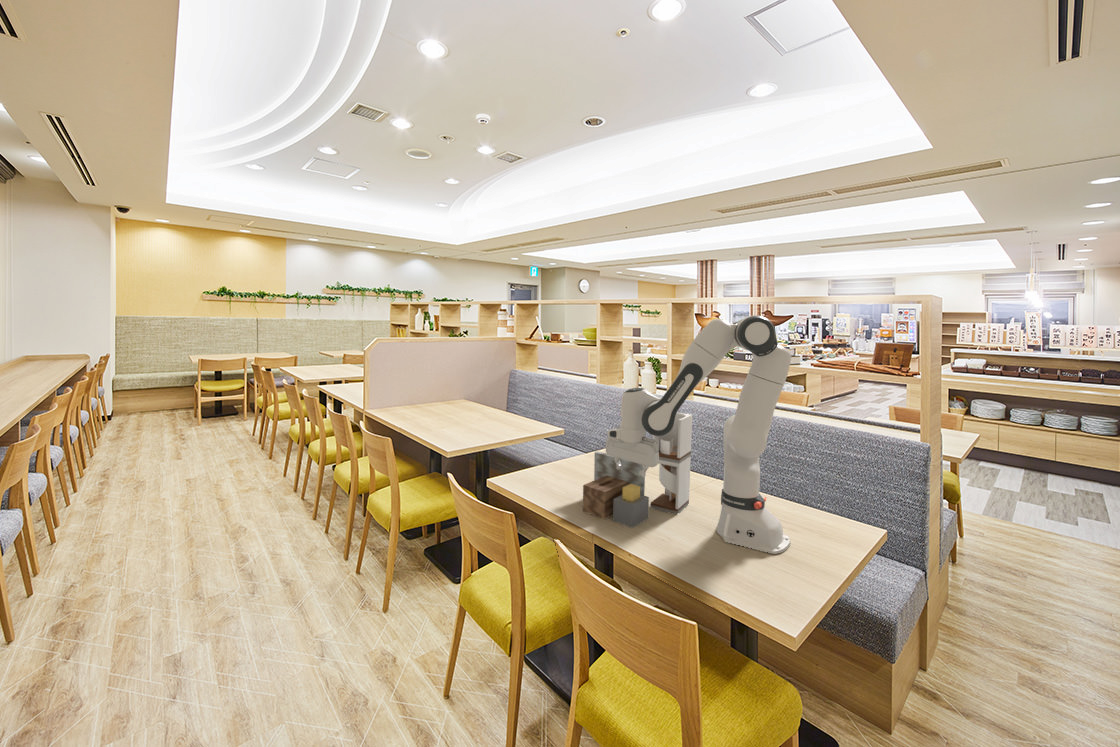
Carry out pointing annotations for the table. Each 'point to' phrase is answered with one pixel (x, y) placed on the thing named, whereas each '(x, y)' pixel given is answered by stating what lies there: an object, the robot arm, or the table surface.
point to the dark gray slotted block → (630, 510)
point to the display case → (675, 465)
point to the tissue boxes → (609, 484)
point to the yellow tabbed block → (631, 492)
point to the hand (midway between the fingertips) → (630, 473)
